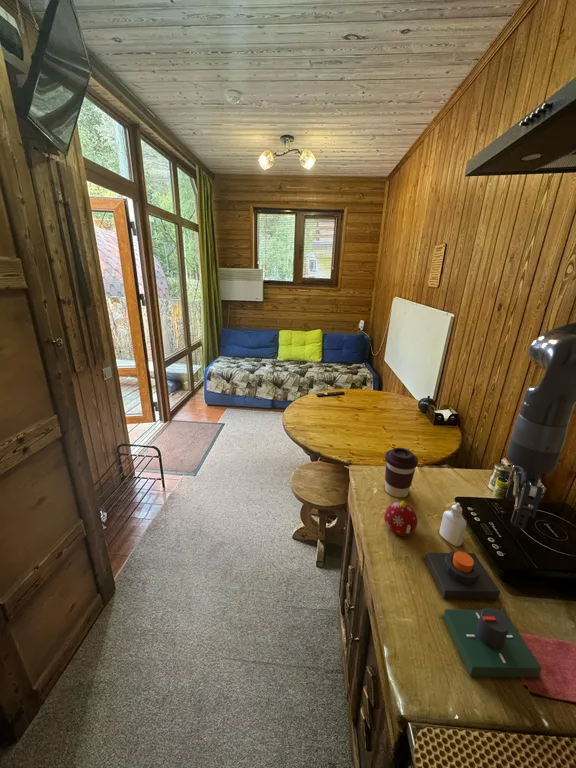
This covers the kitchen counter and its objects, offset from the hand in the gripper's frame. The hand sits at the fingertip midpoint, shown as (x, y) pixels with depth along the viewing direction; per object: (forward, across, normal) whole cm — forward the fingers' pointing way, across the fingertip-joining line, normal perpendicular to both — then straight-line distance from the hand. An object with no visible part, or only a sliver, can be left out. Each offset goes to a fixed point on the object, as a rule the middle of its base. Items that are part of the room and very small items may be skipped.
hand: (514, 512), depth 62 cm
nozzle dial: (+20, -13, +1) cm, 23 cm away
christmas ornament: (+23, +10, +21) cm, 33 cm away
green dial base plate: (+23, -13, +1) cm, 26 cm away
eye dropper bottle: (+23, +13, +8) cm, 28 cm away
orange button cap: (+18, +1, +6) cm, 19 cm away
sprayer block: (+23, +1, +6) cm, 24 cm away
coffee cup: (+23, +27, +25) cm, 43 cm away
